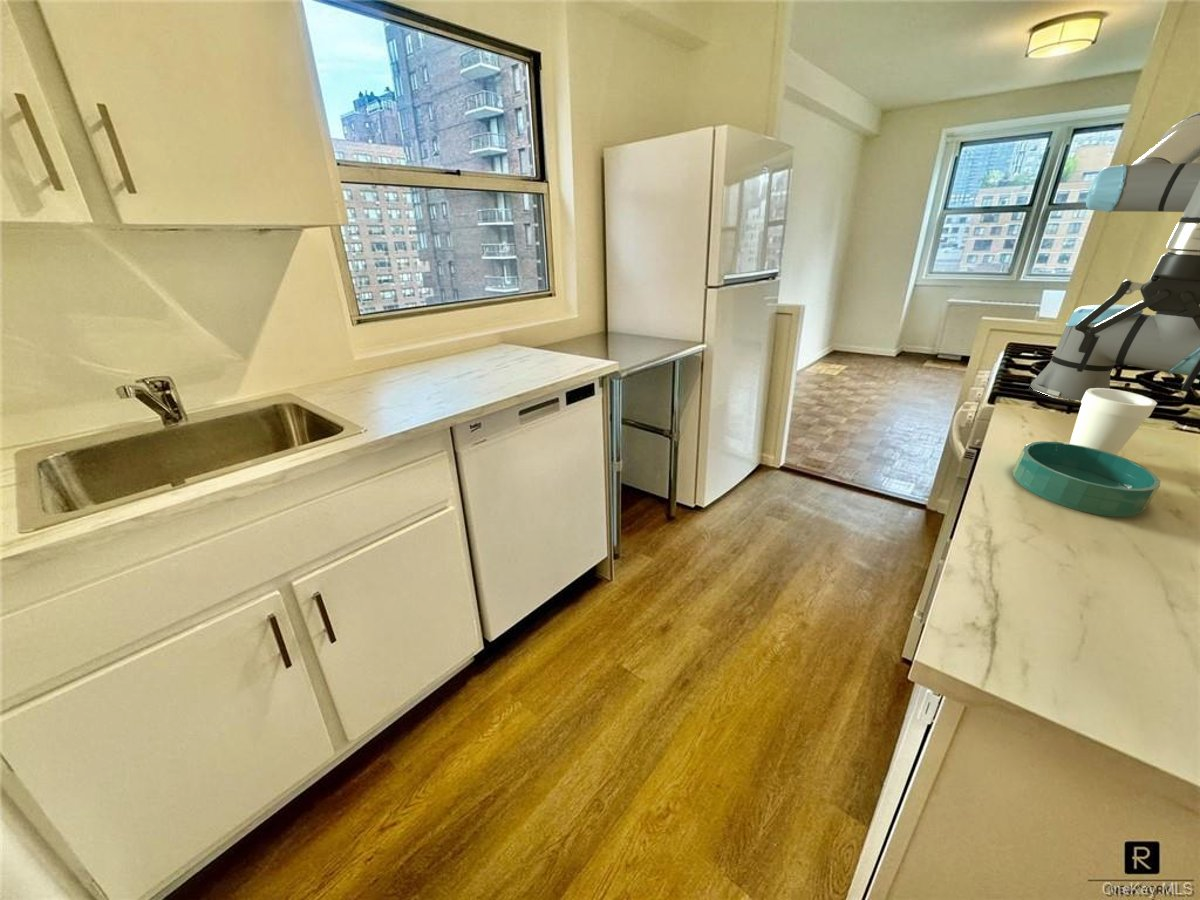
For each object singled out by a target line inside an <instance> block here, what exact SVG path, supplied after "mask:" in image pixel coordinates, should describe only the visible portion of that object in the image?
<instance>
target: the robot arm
mask: <svg viewBox="0 0 1200 900" xmlns="http://www.w3.org/2000/svg"><path fill="white" fill-rule="evenodd" d="M1085 207H1086V208H1087V209H1088V210H1090V211H1098V212H1099V211H1100V212H1106V213H1111V212H1135V213H1136V212H1137V213H1138V212H1142V213H1143V212H1146V213H1147V212H1150V213H1151V212H1153V213H1155V212H1158V213H1160V212H1161V213H1162V212H1163V213H1183V214H1182V216H1181V217H1180V219H1179V221H1178V223H1177V224H1176V226H1175V228H1174V230H1173V232H1172V234H1171V236H1170V238H1169V240H1168V242H1167V244H1166V246H1165V248H1166V250H1168V251H1167V252H1165V253H1164V254H1162V255H1161V256H1160V258H1159V260H1158V262H1157V263H1156V266H1155V268H1154V270H1153V272H1152V274H1151V276H1150V278H1149V279H1148V280H1147V281H1146V282H1145V283H1143V282H1137V281H1132V279H1125V280H1123V281H1122V282H1121V284H1120V285H1119V287H1118V288H1117V290H1116V291H1115V292H1114V293H1113V294H1112V295H1111V296H1110V297H1109V298H1107V299H1106V300H1105V301H1104V302H1103V303H1101V304H1093V305H1092V304H1091V305H1090V304H1089V305H1083V306H1080V307H1077V308H1076V309H1075V310H1073V312H1072V313H1071V315H1070V318H1069V319H1068V321H1067V322H1066V323H1065V327H1064V329H1063V332H1062V333H1061V334H1062V335H1061V336H1060V338H1059V341H1058V343H1057V346H1056V348H1055V350H1054V352H1053V355H1052V357H1051V359H1050V361H1049V363H1048V364H1047V365H1046V366H1045V367H1044V368H1043V370H1041V372H1040V373H1039V374H1038V375H1037V376H1036V377H1035V378H1034V379H1033V380H1032V382H1031V383H1030V385H1029V387H1028V391H1029V392H1030V393H1031V394H1033V395H1034V396H1037V397H1039V398H1042V399H1045V400H1048V401H1052V402H1056V403H1058V404H1059V403H1060V404H1065V405H1070V406H1076V407H1081V404H1082V403H1077V402H1070V401H1065V400H1060V399H1056V398H1052V397H1058V398H1063V399H1070V400H1079V401H1081V400H1082V398H1083V396H1084V394H1085V392H1086V390H1088V389H1089V388H1106V389H1111V374H1112V371H1113V370H1114V367H1115V366H1116V364H1119V365H1123V366H1124V365H1125V366H1129V367H1135V368H1140V369H1146V370H1152V371H1157V372H1161V373H1167V374H1175V375H1182V376H1187V377H1186V378H1185V381H1184V382H1183V383H1182V385H1181V391H1185V392H1189V390H1190V388H1191V387H1192V385H1193V384H1194V382H1195V380H1196V379H1197V377H1198V376H1199V375H1200V110H1199V111H1197V112H1195V113H1192V114H1190V115H1188V116H1187V117H1184V118H1183V119H1181V120H1179V121H1178V122H1177V123H1175V124H1174V125H1173V126H1171V127H1170V128H1169V129H1168V130H1166V132H1165V133H1164V134H1163V135H1162V136H1161V137H1160V139H1159V141H1158V143H1157V144H1155V146H1153V147H1152V148H1150V149H1149V150H1148V151H1147V152H1146V153H1144V154H1143V155H1142V156H1140V157H1139V158H1138V159H1136V160H1135V161H1134V162H1132V163H1131V164H1125V163H1121V164H1119V165H1110V166H1106V167H1104V168H1102V169H1101V170H1100V171H1099V172H1098V173H1097V174H1096V176H1095V177H1094V179H1093V181H1092V183H1091V185H1090V187H1089V190H1088V193H1087V196H1086V200H1085ZM1135 291H1140V294H1141V296H1142V300H1140V301H1138V302H1136V303H1134V304H1133V305H1130V304H1116V303H1117V302H1118V301H1119V300H1121V299H1122V298H1123V297H1124V296H1125V295H1131V294H1133V292H1135ZM1146 308H1148V310H1150V311H1152V312H1155V314H1148V313H1147V314H1145V313H1144V310H1145V309H1146ZM1030 387H1031V388H1032V389H1033V390H1035V391H1037V392H1040V393H1042V394H1045V395H1048V396H1052V397H1048V396H1045V395H1042V394H1040V393H1037V392H1035V391H1033V390H1032V389H1031V388H1030Z"/></svg>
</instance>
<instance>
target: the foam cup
mask: <svg viewBox="0 0 1200 900" xmlns="http://www.w3.org/2000/svg"><path fill="white" fill-rule="evenodd" d="M1081 403H1082V404H1081V406H1079V411H1078V414H1077V417H1076V420H1075V423H1074V427H1073V430H1072V434H1071V437H1070V441H1069V444H1075V445H1080V446H1085V447H1090V448H1094V449H1098V450H1101V451H1105V452H1108V453H1111V454H1114V455H1117V456H1118V454H1119V453H1120V452H1121V450H1122V449H1123V448H1124V447H1125V446H1126V445H1127V443H1128V442H1129V440H1130V439H1131V438H1132V437H1133V436H1134V434H1135V433H1136V432H1137V430H1138V429H1139V428H1140V427H1141V426H1142V424H1143V423H1144V422H1145V420H1146V419H1147V418H1150V416H1151V415H1152V413H1153V411H1154V410H1155V408H1156V406H1157V405H1158V402H1157V401H1155V400H1154V399H1153V398H1150V397H1148V396H1145V395H1142V394H1139V393H1135V392H1131V391H1130V392H1129V391H1128V390H1127V391H1126V390H1121V389H1116V388H1115V389H1114V388H1110V389H1106V388H1089V389H1088V390H1086V392H1085V394H1084V396H1083V398H1082V400H1081Z"/></svg>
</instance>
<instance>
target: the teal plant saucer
mask: <svg viewBox="0 0 1200 900" xmlns="http://www.w3.org/2000/svg"><path fill="white" fill-rule="evenodd" d="M1069 443H1070V442H1069ZM1069 443H1068V442H1062V441H1061V442H1059V441H1045V440H1044V441H1033V442H1032V441H1031V442H1029V443H1027V444H1025V445H1024V446H1023V447H1022V450H1021V452H1020V454H1019V456H1018V459H1017V460H1016V462H1015V465H1014V467H1013V470H1012V476H1013V479H1014V480H1015V481H1016V482H1017V483H1018V485H1020V486H1022V488H1024V489H1026V490H1027V491H1029V492H1031V493H1032V494H1034V495H1037V496H1038V497H1040V498H1042V499H1045V500H1047V501H1049V502H1052V503H1054V504H1057V505H1060V506H1063V507H1065V508H1068V509H1071V510H1072V509H1073V510H1076V511H1080V512H1083V513H1088V514H1092V515H1098V516H1103V517H1104V516H1105V517H1112V518H1113V517H1114V518H1130V517H1131V518H1132V517H1135V516H1139V515H1141V514H1142V513H1144V511H1145V510H1146V509H1147V508H1148V506H1149V505H1150V503H1151V501H1152V500H1153V498H1154V496H1155V495H1156V494H1157V492H1158V490H1159V489H1160V487H1161V483H1162V481H1161V480H1160V478H1159V477H1158V475H1156V474H1155V473H1154V472H1152V470H1150V469H1148V468H1147V467H1144V466H1143V465H1141V464H1138V463H1136V461H1132V460H1130V459H1127V458H1125V457H1123V456H1120V455H1118V454H1117V455H1114V454H1111V453H1108V452H1105V451H1101V450H1098V449H1094V448H1090V447H1085V446H1080V445H1075V444H1069Z"/></svg>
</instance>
